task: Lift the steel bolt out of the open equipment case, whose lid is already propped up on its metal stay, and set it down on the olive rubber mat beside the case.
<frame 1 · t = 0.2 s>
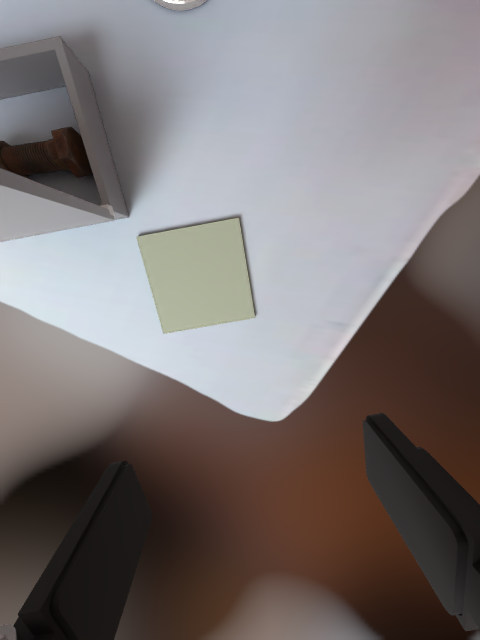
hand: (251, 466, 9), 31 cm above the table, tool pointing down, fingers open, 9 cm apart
bolt: (42, 165, 33), resting in case
mat: (199, 279, 38), on the table
case: (39, 163, 33), on the table
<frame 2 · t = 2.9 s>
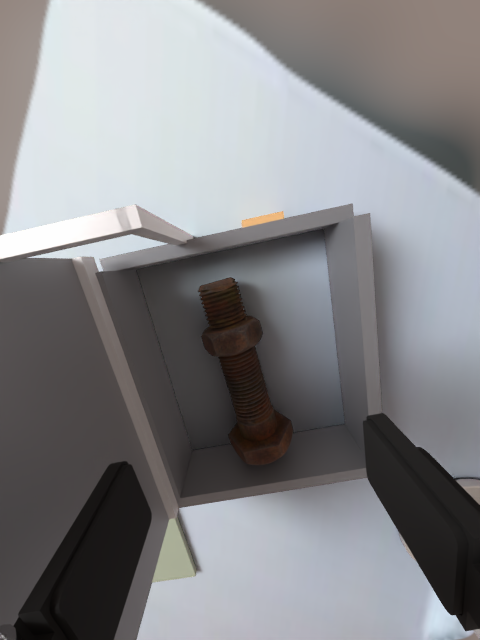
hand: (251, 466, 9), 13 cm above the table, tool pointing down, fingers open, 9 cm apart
bolt: (242, 355, 22), resting in case
mat: (113, 532, 27), on the table
case: (249, 353, 21), on the table
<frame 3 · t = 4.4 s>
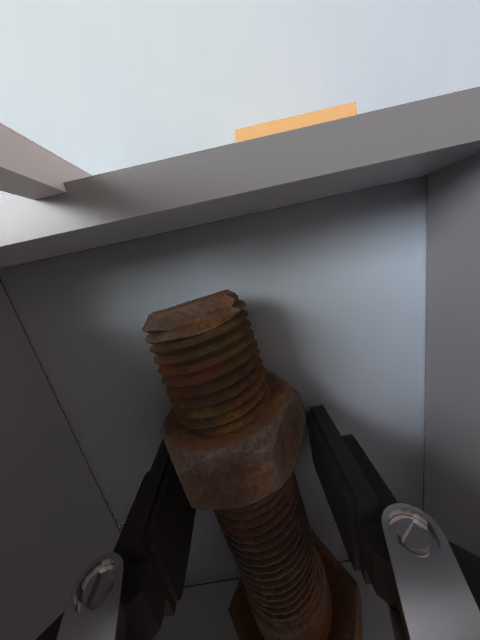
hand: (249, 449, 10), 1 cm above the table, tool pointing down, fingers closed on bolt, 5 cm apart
bolt: (253, 439, 11), resting in case, touching gripper
case: (252, 437, 11), on the table
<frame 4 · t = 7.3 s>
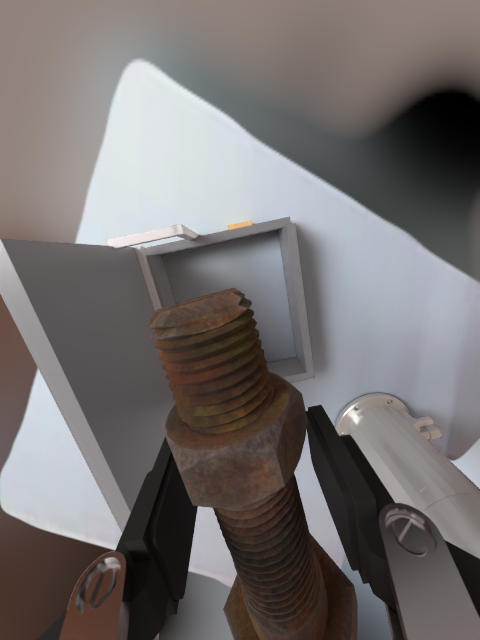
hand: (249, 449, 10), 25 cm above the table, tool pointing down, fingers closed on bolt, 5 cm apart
bolt: (253, 439, 11), point 24 cm above the table, touching gripper
case: (234, 309, 33), on the table
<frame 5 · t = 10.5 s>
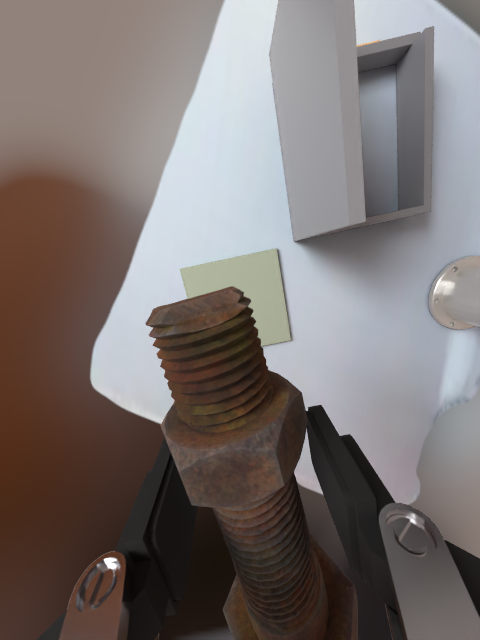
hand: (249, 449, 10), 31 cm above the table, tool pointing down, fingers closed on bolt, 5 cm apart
bolt: (253, 438, 11), point 30 cm above the table, touching gripper
mat: (237, 305, 40), on the table
case: (343, 155, 34), on the table
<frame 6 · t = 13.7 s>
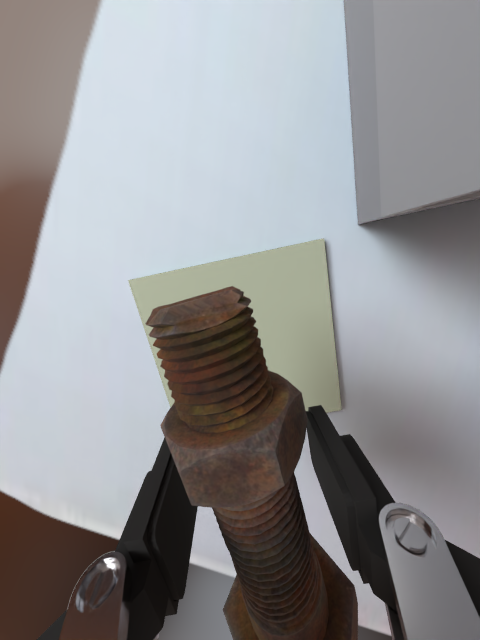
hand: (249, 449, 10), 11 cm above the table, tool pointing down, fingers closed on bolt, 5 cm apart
bolt: (253, 438, 11), point 10 cm above the table, touching gripper
mat: (243, 348, 21), on the table
when the fingers open (3 cm above the table, at t = 16.4 s): bolt drops 1 cm, resting on mat.
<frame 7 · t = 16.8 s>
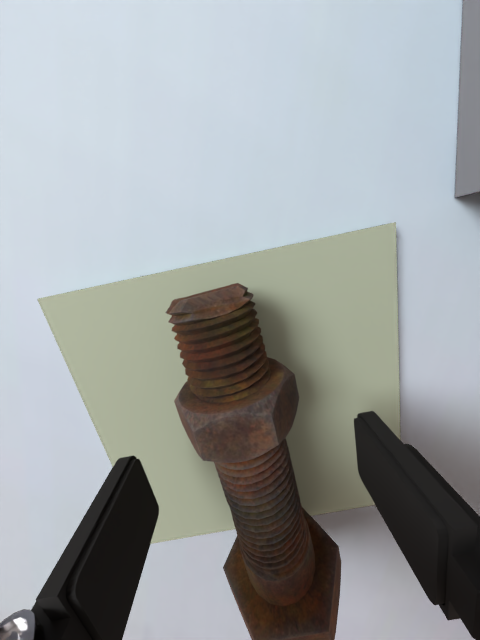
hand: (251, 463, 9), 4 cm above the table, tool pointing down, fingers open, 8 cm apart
bolt: (252, 419, 12), resting on mat
mat: (246, 407, 13), on the table
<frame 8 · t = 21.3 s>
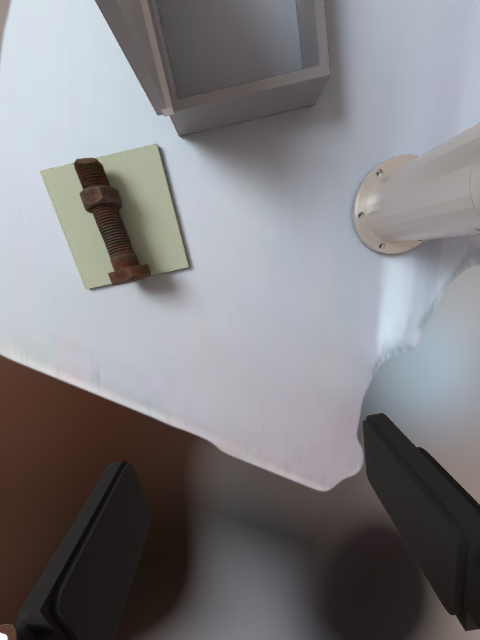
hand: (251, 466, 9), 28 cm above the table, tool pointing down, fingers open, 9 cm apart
bolt: (121, 227, 32), resting on mat
mat: (120, 222, 33), on the table
case: (228, 16, 27), on the table
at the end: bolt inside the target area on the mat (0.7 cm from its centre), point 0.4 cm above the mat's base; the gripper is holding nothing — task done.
